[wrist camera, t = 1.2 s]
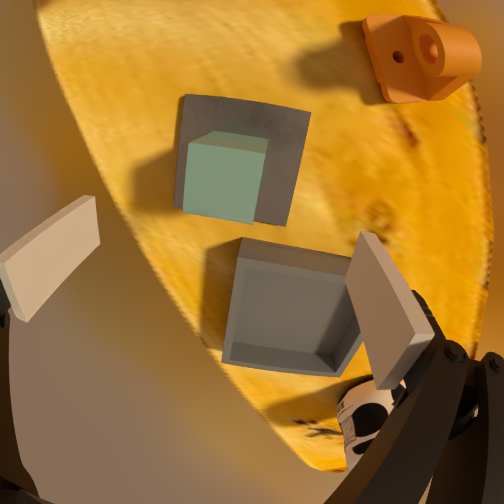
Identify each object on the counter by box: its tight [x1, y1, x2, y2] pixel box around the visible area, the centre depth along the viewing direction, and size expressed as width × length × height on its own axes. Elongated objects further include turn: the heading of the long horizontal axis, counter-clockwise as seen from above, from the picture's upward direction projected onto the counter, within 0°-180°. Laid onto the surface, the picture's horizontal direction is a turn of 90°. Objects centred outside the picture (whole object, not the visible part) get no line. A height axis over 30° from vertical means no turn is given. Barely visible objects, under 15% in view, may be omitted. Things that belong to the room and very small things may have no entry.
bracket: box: [362, 15, 482, 103], centre depth 18 cm, size 11×7×12 cm, turn 17°
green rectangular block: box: [183, 131, 268, 225], centre depth 26 cm, size 6×6×10 cm
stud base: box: [174, 94, 311, 227], centre depth 29 cm, size 14×14×6 cm
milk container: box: [337, 378, 406, 471], centre depth 45 cm, size 17×17×18 cm
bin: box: [221, 237, 363, 377], centre depth 39 cm, size 20×20×5 cm
